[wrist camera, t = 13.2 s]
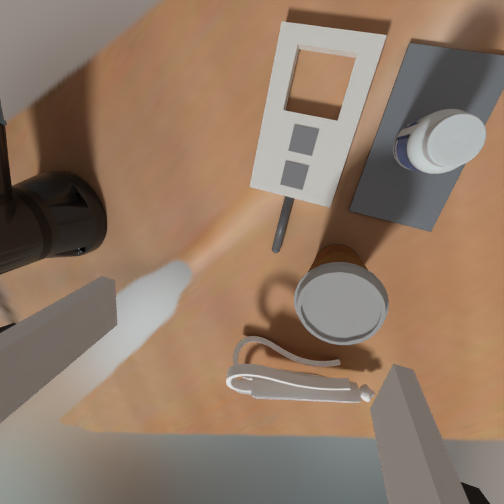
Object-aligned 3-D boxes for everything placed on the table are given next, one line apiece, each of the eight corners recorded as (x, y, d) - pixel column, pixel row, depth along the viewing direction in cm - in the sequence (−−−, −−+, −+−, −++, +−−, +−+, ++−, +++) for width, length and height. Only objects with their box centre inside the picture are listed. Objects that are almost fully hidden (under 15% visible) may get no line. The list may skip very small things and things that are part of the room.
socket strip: (311, 261, 38) (310, 266, 36) (241, 241, 40) (238, 244, 38) (383, 41, 27) (386, 34, 26) (284, 27, 29) (281, 20, 28)
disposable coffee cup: (338, 219, 35) (342, 248, 24) (388, 267, 35) (414, 316, 24) (289, 263, 39) (274, 304, 28) (335, 306, 39) (336, 363, 29)
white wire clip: (381, 325, 36) (227, 321, 38) (397, 400, 32) (221, 391, 34) (352, 350, 51) (240, 347, 53) (360, 405, 46) (237, 398, 48)
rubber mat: (348, 210, 34) (349, 210, 34) (408, 44, 27) (410, 42, 27) (429, 230, 32) (430, 231, 32) (516, 59, 25) (519, 57, 25)
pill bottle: (424, 178, 30) (462, 187, 21) (382, 157, 31) (402, 158, 22) (458, 131, 28) (517, 121, 19) (412, 110, 28) (449, 90, 20)
